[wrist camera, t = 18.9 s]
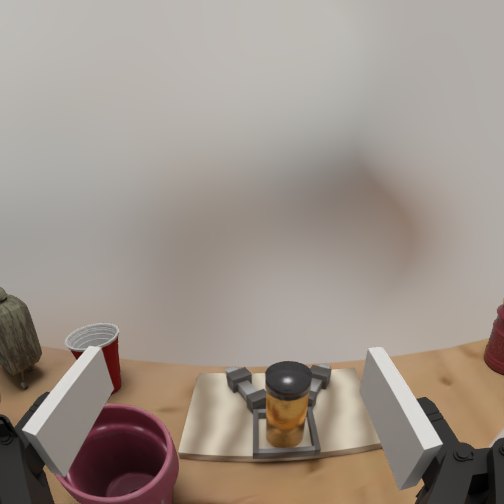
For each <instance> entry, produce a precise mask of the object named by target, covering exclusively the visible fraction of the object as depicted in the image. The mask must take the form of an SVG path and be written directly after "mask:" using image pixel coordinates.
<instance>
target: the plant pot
mask: <svg viewBox="0 0 504 504" xmlns="http://www.w3.org/2000/svg"><path fill="white" fill-rule="evenodd" d="M178 470H179V462H178V456H177V453H176V449H175V446H174V444H173V441H172V438H171V436H170V433H169V431H168V429H167V428H166V426H165V425H164V424H163V423H162V422H161V421H160V420H159V419H158V418H157V417H156V416H154V415H153V414H151V413H149V412H148V411H146V410H143V409H141V408H138V407H135V406H131V405H125V404H105V405H104V407H103V409H102V410H101V412H100V414H99V416H98V417H97V419H96V421H95V423H94V424H93V426H92V428H91V430H90V432H89V433H88V435H87V437H86V439H85V441H84V442H83V444H82V446H81V448H80V450H79V452H78V453H77V455H76V457H75V459H74V461H73V463H72V465H71V467H70V468H69V470H68V472H67V474H66V476H65V477H62V476H60V475H57V474H55V473H54V474H55V476H56V477H57V479H58V480H59V481H60V483H61V484H62V485H63V486H64V488H65V489H66V490H67V491H68V492H69V493H70V494H71V495H72V496H73V497H74V498H75V499H76V500H77V501H78V502H79V503H81V504H172V498H173V486H174V484H175V482H176V479H177V476H178Z"/></svg>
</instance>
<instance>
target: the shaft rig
mask: <svg viewBox="0 0 504 504" xmlns="http://www.w3.org/2000/svg"><path fill="white" fill-rule="evenodd" d="M330 368H331V366H329V365H325V364H320V365H319V366H315V365H312V367H311V368H310V370H311V372H312V382H311V389H310V392H309V397H308V405H307V413H306V421H305V428H304V435H303V439H302V441H301V442H300V443H299V444H298V445H297V446H295V447H292V448H277V447H274V446H272V445H271V444H270V443H269V442H268V441H267V439H266V389H265V373H262V374H251V373H250V372H249V371H248V370H247V369H246V368H245V367H244V368H241V369H237V368H236V367H232V368H229V369H225V370H226V374H221V373H198V377H197V381H196V384H195V388H194V392H193V396H192V400H191V404H190V407H189V411H188V415H187V419H186V423H185V427H184V431H183V435H182V439H181V443H180V447H179V451H178V453H179V456H180V458H185V459H195V460H209V461H230V462H269V461H291V460H304V459H315V458H324V457H332V456H340V455H346V454H353V453H359V452H364V451H370V450H375V449H380V448H383V447H382V445H381V443H380V440H379V438H378V435H377V433H376V430H375V428H374V425H373V423H372V421H371V418H370V416H369V413H368V411H367V409H366V406H365V404H364V402H363V399H362V397H361V395H360V392H359V389H360V385H361V380H360V378H359V376H358V374H357V372H356V369H355V368H346V369H335V370H332V369H330Z"/></svg>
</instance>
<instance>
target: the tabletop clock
mask: <svg viewBox="0 0 504 504" xmlns="http://www.w3.org/2000/svg"><path fill="white" fill-rule="evenodd" d="M41 355H42V351H41V347H40V344H39V340H38V337H37V334H36V331H35V328H34V325H33V322H32V318H31V315H30V313H29V310H28V308H27V306H26V304H25V303H24V302H22V301H21V300H20V299H18V298H17V297H14V296H12V295H8V294H6V292H5V290H4V289H3V288H1V287H0V364H1V365H2V367H3V368H4V369H5V370H6V371H7V372H8V373H9V374H10V375H12V376H14V375H16V374H17V373H19V372H20V374H21V378H22V382H21V386H22V388H24V389H26V388H27V387H28V384H27V382H25V381H24V369H26V368H27V369H28V370H32V368H33V367H32V365H33V364H35V363H36V362H38V361H39V359H40V357H41Z"/></svg>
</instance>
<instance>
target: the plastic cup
mask: <svg viewBox="0 0 504 504" xmlns="http://www.w3.org/2000/svg"><path fill="white" fill-rule="evenodd" d="M118 335H119V329H118V327H117V326H115V325H114V324H109V323H96V324H92V325H87V326H84V327H82V328H79V329H77V330H75V331H73V332H72V333H70V334H69V335H68V336H67V337H66V339H65V345H66V346H67V347H68V348H69V349H70V350H71V352H72V353H73V355H74V356H75V358H76V359H77V360H78V358H79V357H80V356H81V355H82V354H83V353H84V351H85V350H86V349H87V348H88V347H89V346H94V347H101V348H102V352H103V355H104V359H105V362H106V365H107V369H108V372H109V375H110V378H111V381H112V384H113V387H114V390H113V391H112V393H111V394H113V393H115V392H117V391H118V390H119V389H120V386H121V378H120V364H119V354H118Z"/></svg>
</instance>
